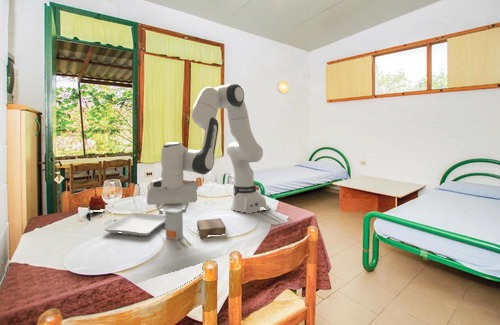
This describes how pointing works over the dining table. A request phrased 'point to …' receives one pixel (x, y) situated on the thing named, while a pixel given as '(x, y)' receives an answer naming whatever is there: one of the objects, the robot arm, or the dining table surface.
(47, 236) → the dining table surface
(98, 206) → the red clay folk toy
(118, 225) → the salad plate
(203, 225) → the walnut base
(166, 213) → the skincare box
